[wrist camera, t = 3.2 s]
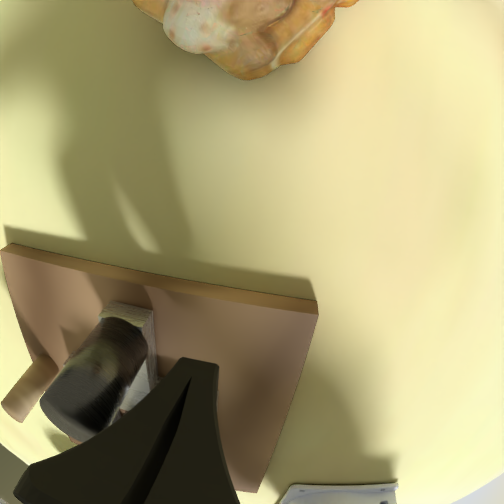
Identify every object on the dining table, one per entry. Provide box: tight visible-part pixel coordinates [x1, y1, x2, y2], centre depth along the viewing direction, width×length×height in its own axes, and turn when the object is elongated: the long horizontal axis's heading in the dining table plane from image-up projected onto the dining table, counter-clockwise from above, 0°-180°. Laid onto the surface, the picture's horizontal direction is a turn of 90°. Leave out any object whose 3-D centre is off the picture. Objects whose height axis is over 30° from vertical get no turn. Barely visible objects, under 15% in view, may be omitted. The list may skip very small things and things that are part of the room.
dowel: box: [1, 354, 59, 423], centre depth 14 cm, size 2×2×4 cm
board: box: [0, 243, 319, 493], centre depth 16 cm, size 16×18×1 cm
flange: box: [40, 301, 219, 442], centre depth 12 cm, size 12×8×6 cm, turn 173°
